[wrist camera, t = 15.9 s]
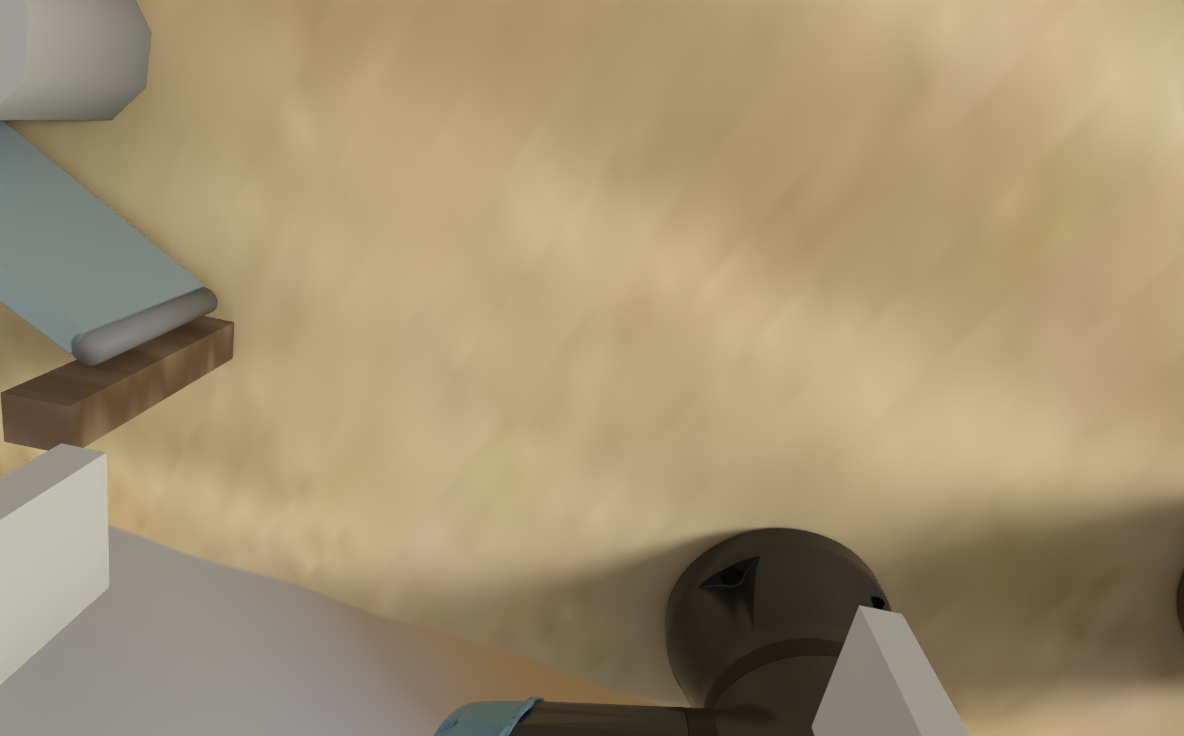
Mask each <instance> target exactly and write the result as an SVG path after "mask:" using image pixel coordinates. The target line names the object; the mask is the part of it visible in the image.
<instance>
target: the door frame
mask: <svg viewBox="0 0 1184 736" xmlns="http://www.w3.org/2000/svg"><path fill="white" fill-rule="evenodd" d="M233 334H234V322H229V321H224V320H220V319H215V318H210V317H205V316H202V317H200V318H197V319H195V320H193V321H191V322H189V323H186V324H184V325H182V326H180V327H178V328H176V329H173V330H171V331H169V332H167V333H165V334H162V335H160V336H158V337H156V338H154V339H151V340H149V341H147V342H145V343H143V344H141V345H138V346H136V347H134V348H132V349H130V350H127V351H125V352H123V353H121V354H119V355H117V356H114V357H112V358H110V359H108V360H106V361H103V362H101V363H99V364H97V365H86V364H83V363H81V362H80V361H79V360H75V361H73V362H71V363H68V364H66V365H64V366H62V367H59V368H57V369H55V370H52V371H50V372H48V373H45V374H43V375H41V376H38V377H36V378H34V379H31V380H29V381H27V382H25V383H22V384H20V385H18V386H15V387H13V388H11V389H8V390H6V391H4V392H1V403H2V417H3V430H4V442H8V443H13V444H18V445H23V446H28V447H33V448H38V449H43V450H48V451H49V450H50V449H52V448H54V447H56V446H58V445H59V444H61V443H62V444H67V445H72V446H76V447H81V448H84V447H85V446H87V445H89V444H90V443H92V442H94V441H95V440H97V439H99V438H100V437H102V436H104V435H105V434H107V433H109V432H110V431H112V430H114V429H115V428H117V427H119V426H120V425H122V424H124V423H125V422H127V421H129V420H130V419H132V418H134V417H135V416H137V415H139V414H140V413H142V412H144V411H145V410H147V409H149V408H150V407H152V406H154V405H155V404H157V403H159V402H160V401H162V400H164V399H165V398H167V397H169V396H170V395H172V394H174V393H175V392H177V391H179V390H180V389H182V388H184V387H185V386H187V385H189V384H190V383H192V382H194V381H195V380H197V379H199V378H200V377H202V376H204V375H205V374H207V373H209V372H210V371H212V370H214V369H215V368H217V367H219V366H220V365H222V364H224V363H225V362H227V361H229V360H230V359H232V358H233Z"/></svg>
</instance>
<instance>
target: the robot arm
mask: <svg viewBox="0 0 1184 736" xmlns="http://www.w3.org/2000/svg"><path fill="white" fill-rule="evenodd" d="M108 553H109V551H108V507H107V463H106V452H101V451H96V450H91V449H86V448H81V447H76V446H72V445H67V444H62V443H61V444H59V445H58V446H56V447H54V448H52V449H50V450H49V451H47V452H45V453H43V454H42V455H40V456H38V457H36V458H35V459H33V460H31V461H29V462H28V463H26V464H24V465H22V466H21V467H19V468H17V469H15V470H14V471H12V472H10V473H8V474H7V475H5V476H3V477H1V478H0V685H1V684H2V683H3V682H4V681H5V680H6V679H7V678H9V676H11V675H12V674H13V673H14V672H15V671H16V670H17V669H19V668H20V667H21V666H22V665H23V664H24V663H25V662H26V661H27V660H28V659H30V658H31V657H32V656H33V655H34V654H35V653H36V652H37V651H38V650H40V649H41V648H42V647H43V646H44V645H45V644H46V643H47V642H49V641H50V640H51V639H52V638H53V637H54V636H55V635H56V634H57V633H59V632H60V631H61V630H62V629H63V628H64V627H65V626H66V625H67V624H69V623H70V622H71V621H72V620H73V619H74V618H75V617H76V616H77V615H79V614H80V613H81V612H82V611H83V610H84V609H85V608H86V607H88V606H89V605H90V604H91V603H92V602H93V601H94V600H95V599H96V598H97V597H98V596H100V595H101V594H102V593H103V592H104V591H105V590H106V589H107V588H109V554H108ZM665 632H666V645H667V653H668V658H669V662H670V665H671V669H672V672H673V674H674V676H675V678H676V680H677V682H678V684H679V686H680V687H681V689H682V690H683V692H684V694H685V696H686V698H687V700H688V701H689V703H690V705H691V707H692V708H684V707H660V706H637V705H614V704H591V703H590V704H589V703H568V702H567V703H566V702H545V701H544V699H543V698H541V697H531V698H529V699H527V700H526V701H505V702H504V701H503V702H502V701H495V702H474V703H470V704H467V705H464V706H462V707H460V708H459V709H457V710H456V711H455V712H453V713H452V714H451V715H449V717H448V718H447V719H446V720H445V721H444V722H443V723H442V724H441V725H440V727H439V728H438V730H437V732H436V733H435V735H434V736H970V735H969V733H968V731H967V729H966V727H965V726H964V724H963V722H962V720H961V719H960V717H959V715H958V713H957V711H956V710H955V708H954V706H953V704H952V702H951V701H950V699H949V697H948V695H947V693H946V692H945V690H944V688H943V686H942V685H941V683H940V681H939V679H938V677H937V676H936V674H935V672H934V670H933V668H932V667H931V665H930V663H929V661H928V659H927V658H926V656H925V654H924V652H923V651H922V649H921V647H920V645H919V643H918V642H917V640H916V638H915V636H914V634H913V633H912V631H911V629H910V627H909V625H908V624H907V622H906V620H905V618H904V616H903V615H902V614H900V613H895V612H892V610H891V607H890V604H889V602H888V600H887V598H886V596H885V594H884V592H883V590H882V588H881V587H880V585H879V583H878V581H877V579H876V577H875V576H874V574H873V573H872V571H871V570H870V569H869V567H868V566H867V565H866V564H865V563H864V562H863V561H862V560H861V559H860V558H859V557H858V556H857V555H856V554H855V553H853V552H852V551H851V550H849V549H848V548H846V547H845V546H843V545H841V544H840V543H838V542H836V541H834V540H832V539H829V538H827V537H824V536H822V535H818V534H815V533H811V532H807V531H801V530H793V529H767V530H760V531H754V532H749V533H745V534H742V535H738V536H736V537H733V538H730V539H728V540H726V541H724V542H722V543H720V544H718V545H716V546H714V547H712V548H711V549H709V550H708V551H706V552H705V553H704V554H702V555H701V556H700V557H698V558H697V559H696V560H695V561H694V562H693V563H692V564H691V565H690V566H689V567H688V568H687V569H686V570H685V572H684V573H683V574H682V575H681V577H680V578H679V580H678V581H677V583H676V585H675V587H674V589H673V591H672V593H671V595H670V598H669V601H668V605H667V609H666V616H665Z"/></svg>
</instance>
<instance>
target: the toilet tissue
mask: <svg viewBox="0 0 1184 736" xmlns="http://www.w3.org/2000/svg"><path fill="white" fill-rule="evenodd" d="M150 41H151V31H150V29H149V27H148V25H147V22H146V20H145V18H144V16H143V14H142V12H141V10H140V8H139V6H138V3H137V1H136V0H0V120H112V119H113V118H114V117H115V116H116V115H117V114H118V113H120V112H121V111H122V110H123V109H124V108H125V107H126V106H127V105H128V104H129V103H130V102H131V101H132V100H133V99H134V98H135V97H136V96H137V95H138V94H139V93H140V92H141V91H143V90H144V89H145V88H146V80H147V71H148V61H149V51H150Z"/></svg>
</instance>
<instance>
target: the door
mask: <svg viewBox="0 0 1184 736" xmlns="http://www.w3.org/2000/svg"><path fill="white" fill-rule="evenodd" d="M0 301H1V302H2V303H4V304H5V305H6V306H8V307H9V308H10V309H11V310H13V311H14V312H15V313H17V314H18V315H19V316H21V317H22V318H23V319H25V320H26V321H27V322H29V323H30V324H31V325H32V326H34V327H35V328H36V329H38V330H39V331H40V332H42V333H43V334H44V335H46V336H47V337H48V338H50V339H51V340H52V341H53V342H55V343H56V344H57V345H59V346H60V347H61V348H63V349H64V350H65V351H67V352H68V353H69V354H72V353H73V355H74V356H75V358H76V359H77V360H79V361H80V362H81V363H83V364H86V365H97V364H99V363H101V362H103V361H106V360H108V359H110V358H112V357H114V356H117V355H119V354H121V353H123V352H125V351H127V350H130V349H132V348H134V347H136V346H138V345H141V344H143V343H145V342H147V341H149V340H151V339H154V338H156V337H158V336H160V335H162V334H165V333H167V332H169V331H171V330H173V329H176V328H178V327H180V326H182V325H184V324H186V323H189V322H191V321H193V320H195V319H197V318H200V317H202V316H204V315H206V314H208V313H210V312H212V311H214V310H215V309H216V307H217V298H216V296H215V294H214V293H213V292H212V291H211V290H210V289H208V288H204V284H202V283H201V282H200V281H199V280H198V279H196V278H195V277H194V276H193V275H191V274H190V273H189V272H188V271H186V270H185V269H184V268H183V267H182V266H180V265H179V264H178V263H177V262H175V261H174V260H173V259H172V258H171V257H169V256H168V255H167V254H166V253H164V252H163V251H162V250H161V249H160V248H158V247H157V246H156V245H155V244H153V243H152V242H151V241H150V240H148V239H147V238H146V237H145V236H144V235H142V234H141V233H140V232H139V231H137V230H136V229H135V228H134V227H133V226H131V225H130V224H129V223H128V222H126V221H125V220H124V219H123V218H121V217H120V216H119V215H118V214H117V213H115V212H114V211H113V210H112V209H110V208H109V207H108V206H107V205H106V204H104V203H103V202H102V201H101V200H99V199H98V198H97V197H96V196H95V195H93V194H92V193H91V192H90V191H88V190H87V189H86V188H85V187H83V186H82V185H81V184H80V183H79V182H77V181H76V180H75V179H74V178H72V177H71V176H70V175H69V174H68V173H66V172H65V171H64V170H63V169H61V168H60V167H59V166H58V165H56V164H55V163H54V162H53V161H52V160H50V159H49V158H48V157H47V156H45V155H44V154H43V153H42V152H41V151H39V150H38V149H37V148H36V147H34V146H33V145H32V144H31V143H30V142H28V141H27V140H26V139H25V138H23V137H22V136H21V135H20V134H18V133H17V132H16V131H15V130H14V129H12V128H11V127H10V126H9V125H7V124H6V123H5V122H4V121H3V120H0Z"/></svg>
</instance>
